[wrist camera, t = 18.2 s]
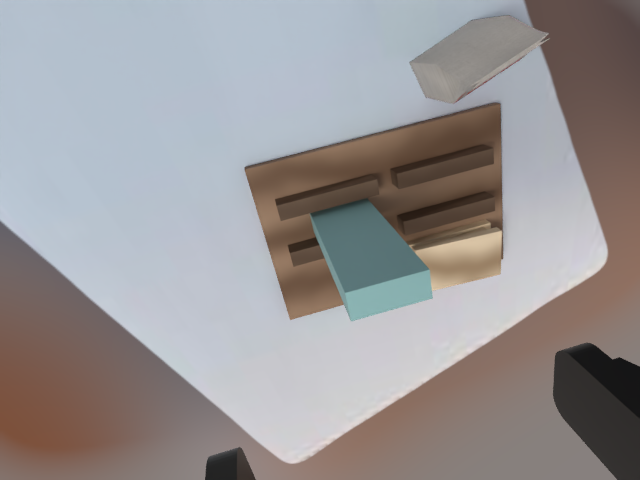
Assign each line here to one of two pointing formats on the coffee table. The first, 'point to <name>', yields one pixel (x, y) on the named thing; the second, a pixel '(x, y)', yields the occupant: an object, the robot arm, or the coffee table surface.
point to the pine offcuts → (460, 254)
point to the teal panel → (369, 260)
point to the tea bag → (473, 56)
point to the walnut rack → (378, 192)
